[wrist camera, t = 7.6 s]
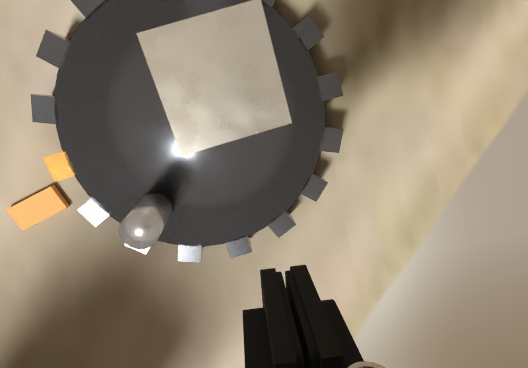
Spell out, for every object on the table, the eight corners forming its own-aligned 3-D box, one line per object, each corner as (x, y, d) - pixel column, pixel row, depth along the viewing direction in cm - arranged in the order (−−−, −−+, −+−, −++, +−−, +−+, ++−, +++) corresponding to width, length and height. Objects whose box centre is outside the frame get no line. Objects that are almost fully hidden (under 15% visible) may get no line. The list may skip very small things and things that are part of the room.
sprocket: (384, 69, 24) (438, 57, 18) (254, 286, 28) (262, 338, 22) (119, -111, 19) (68, -212, 13) (6, 181, 23) (-75, 209, 17)
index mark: (54, 184, 24) (50, 186, 23) (69, 205, 24) (66, 207, 24) (10, 207, 24) (5, 209, 23) (26, 228, 24) (22, 230, 24)
